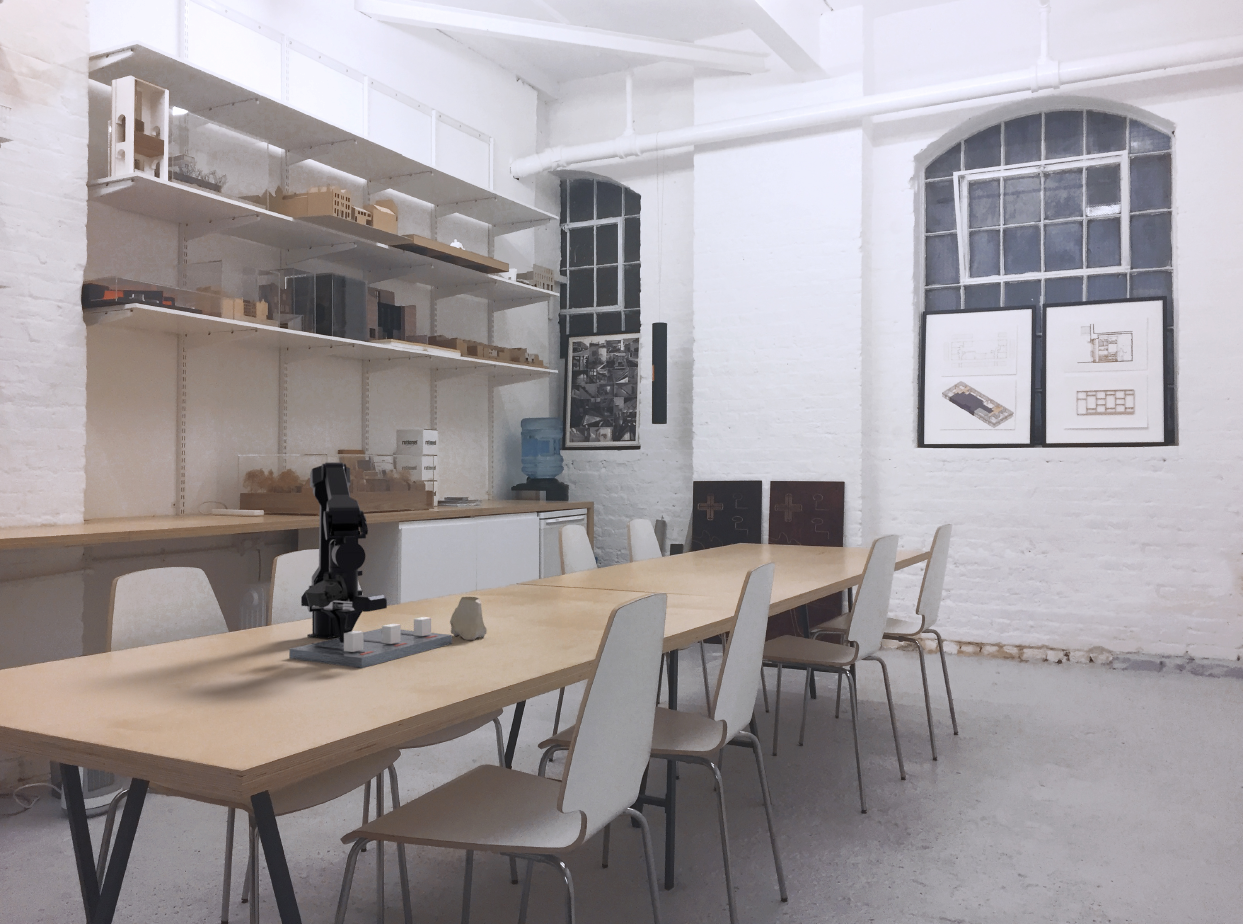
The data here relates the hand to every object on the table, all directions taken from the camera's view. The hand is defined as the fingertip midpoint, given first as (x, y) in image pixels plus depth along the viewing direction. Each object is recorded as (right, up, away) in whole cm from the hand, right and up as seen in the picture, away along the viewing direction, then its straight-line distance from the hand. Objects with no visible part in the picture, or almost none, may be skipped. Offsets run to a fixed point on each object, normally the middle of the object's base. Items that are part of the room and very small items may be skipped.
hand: (343, 642), depth 190 cm
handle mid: (+8, -1, +7) cm, 11 cm away
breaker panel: (+4, -4, +10) cm, 11 cm away
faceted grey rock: (+21, -4, +25) cm, 33 cm away
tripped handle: (+2, -1, -1) cm, 3 cm away
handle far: (+13, -1, +16) cm, 20 cm away
